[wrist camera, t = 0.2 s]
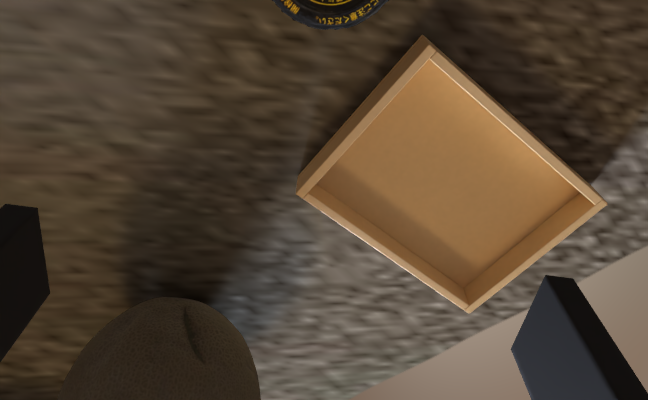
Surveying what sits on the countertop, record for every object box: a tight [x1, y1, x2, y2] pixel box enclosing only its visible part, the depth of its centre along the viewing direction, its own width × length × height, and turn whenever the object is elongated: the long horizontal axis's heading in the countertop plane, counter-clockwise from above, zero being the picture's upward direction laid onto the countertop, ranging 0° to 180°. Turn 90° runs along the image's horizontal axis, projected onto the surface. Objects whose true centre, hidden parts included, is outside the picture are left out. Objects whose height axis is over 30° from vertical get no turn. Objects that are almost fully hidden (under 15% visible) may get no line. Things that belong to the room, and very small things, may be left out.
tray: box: [296, 35, 607, 314], centre depth 34 cm, size 16×12×2 cm
